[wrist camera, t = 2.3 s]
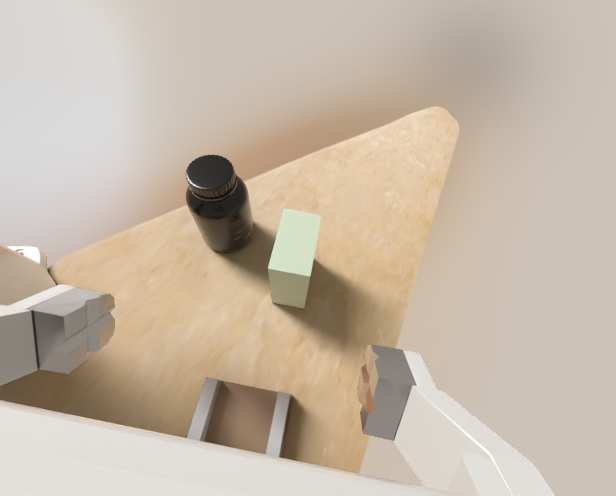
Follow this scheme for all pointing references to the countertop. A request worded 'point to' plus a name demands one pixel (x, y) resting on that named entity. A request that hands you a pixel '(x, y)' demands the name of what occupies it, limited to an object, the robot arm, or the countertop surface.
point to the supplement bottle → (219, 203)
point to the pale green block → (293, 257)
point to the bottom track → (241, 417)
